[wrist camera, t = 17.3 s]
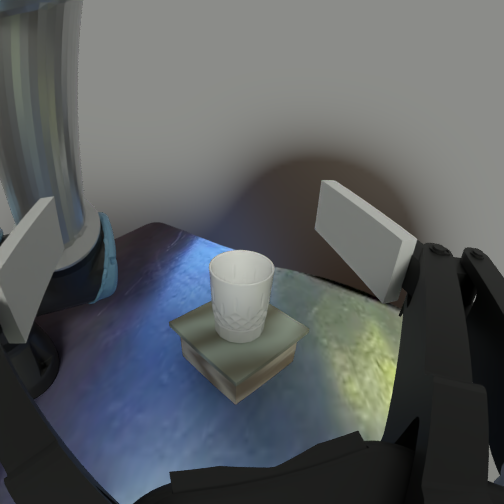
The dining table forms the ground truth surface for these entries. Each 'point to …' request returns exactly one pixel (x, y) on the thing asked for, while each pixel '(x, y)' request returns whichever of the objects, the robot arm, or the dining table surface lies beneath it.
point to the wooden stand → (238, 350)
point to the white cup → (240, 294)
